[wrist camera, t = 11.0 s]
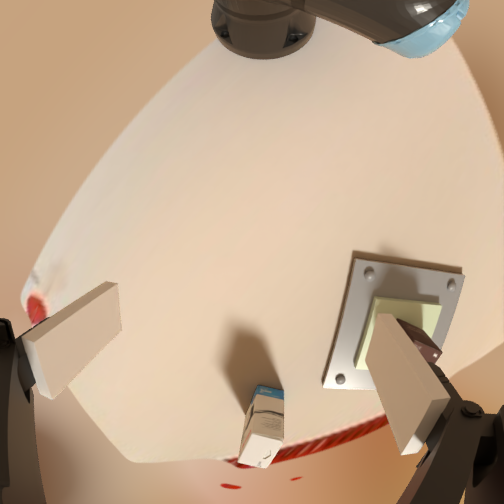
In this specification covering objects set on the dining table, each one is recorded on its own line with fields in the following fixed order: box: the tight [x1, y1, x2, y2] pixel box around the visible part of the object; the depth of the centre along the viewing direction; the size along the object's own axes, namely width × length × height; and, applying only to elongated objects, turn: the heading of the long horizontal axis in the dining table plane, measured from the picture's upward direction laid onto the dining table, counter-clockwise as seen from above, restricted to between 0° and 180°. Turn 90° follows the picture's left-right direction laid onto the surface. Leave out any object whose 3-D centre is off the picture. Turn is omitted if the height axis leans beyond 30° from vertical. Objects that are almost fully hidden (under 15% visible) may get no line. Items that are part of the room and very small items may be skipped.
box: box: [396, 318, 442, 364], centre depth 37 cm, size 6×6×7 cm
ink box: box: [238, 385, 284, 469], centre depth 42 cm, size 8×5×12 cm, turn 164°
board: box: [322, 258, 465, 390], centre depth 41 cm, size 22×20×2 cm
